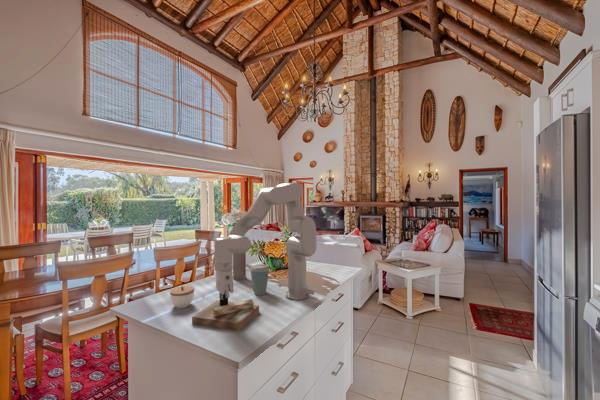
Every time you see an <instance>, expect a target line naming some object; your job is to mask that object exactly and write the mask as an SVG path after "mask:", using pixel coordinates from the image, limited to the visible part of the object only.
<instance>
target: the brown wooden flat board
mask: <svg viewBox="0 0 600 400" xmlns="http://www.w3.org/2000/svg"><path fill="white" fill-rule="evenodd" d="M233 303H234V302H231V301H228V304H233ZM216 307H220V300H216V301H214V302H212V303H211V304H210V305H208V306H206V307H205V308H203V309H201V310H200V311H198V312H197V313H196V314H194V315H192V316H191V324H192V325H196V324H197V326H203V327H212V328H218V329H225V330H232V331H241V330H243V329H244V328H245V326H247V325H248V324H249V322H250V321H252V320H253V319H254V318H255V317H256V316H257V315H258V314H259V313H260V305H258V304H257V305H256V304H254V307H251V308H247V309H243V310H239V311H236V312H232V313H228V314H224V315H220V316H216V317H215V316H214V314H213V308H216Z"/></svg>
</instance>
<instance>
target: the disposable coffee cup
mask: <svg viewBox="0 0 600 400" xmlns="http://www.w3.org/2000/svg"><path fill="white" fill-rule="evenodd" d="M270 270H271V268H270V265H269V264H256V265H253V266H251V267H250V276H251V283H252V291H253V293H254V295H256V296H257V295H258V296H261V295H265V294H266V292H267V287H268V280H269V274H270Z"/></svg>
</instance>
